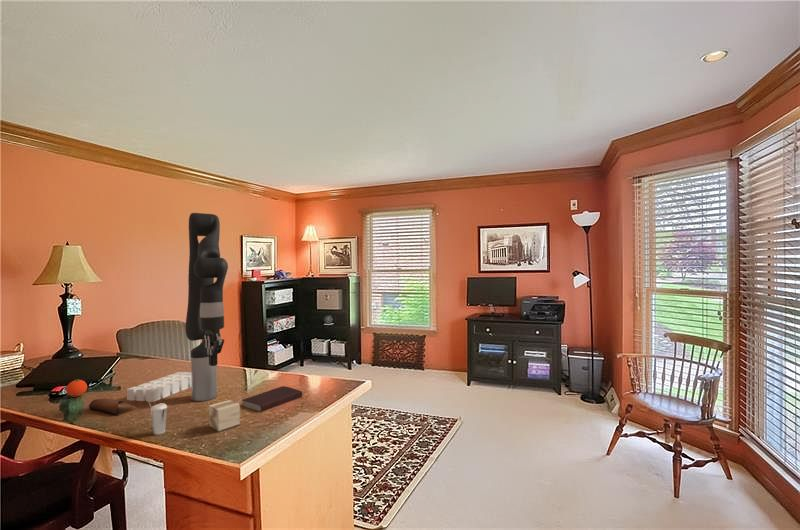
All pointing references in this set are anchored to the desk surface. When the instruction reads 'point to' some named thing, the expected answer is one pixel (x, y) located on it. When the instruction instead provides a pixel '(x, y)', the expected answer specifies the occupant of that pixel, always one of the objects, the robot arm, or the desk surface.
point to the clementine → (76, 388)
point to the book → (272, 398)
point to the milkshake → (158, 418)
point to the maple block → (224, 415)
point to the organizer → (160, 387)
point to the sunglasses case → (111, 406)
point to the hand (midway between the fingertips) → (213, 365)
